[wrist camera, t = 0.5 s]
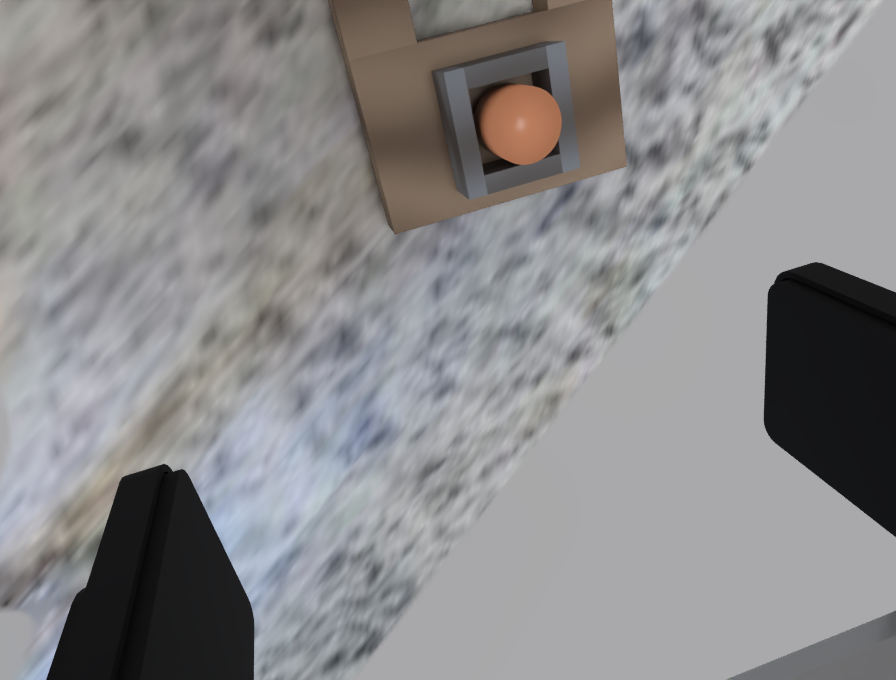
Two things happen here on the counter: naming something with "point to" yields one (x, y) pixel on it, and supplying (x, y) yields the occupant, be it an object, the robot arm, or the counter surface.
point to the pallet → (458, 93)
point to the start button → (518, 122)
